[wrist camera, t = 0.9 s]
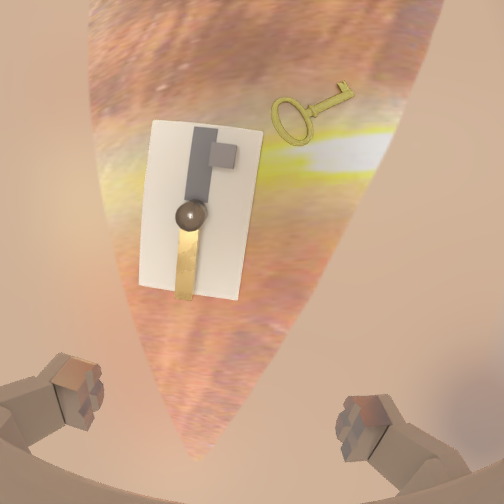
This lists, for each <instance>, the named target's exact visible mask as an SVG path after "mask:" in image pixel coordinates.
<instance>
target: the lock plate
mask: <svg viewBox="0 0 504 504" xmlns="http://www.w3.org/2000/svg"><path fill="white" fill-rule="evenodd" d="M263 133H264V131H257V130H251V129H244V128H236V127H229V126H220V125H212V124H202V123H191V122H180V121H165V120H153V124H152V130H151V137H150V144H149V152H148V159H147V168H146V177H145V186H144V197H143V209H142V222H141V239H140V263H139V285H141V286H147V287H153V288H159V289H165V290H171V291H175V281H176V267H177V254H178V242H179V231H180V227H179V226H178V225H177V223H176V220H175V214H176V211H177V209H178V208H179V207H180V206H181V205H183V204H184V203H185V202H187V201H189V200H192V199H197V200H200V201H202V202H203V203H204V204H205V205H206V207H207V211H208V215H207V218H206V220H205V221H204V223H203V224H202V226H201V235H200V244H199V253H198V263H197V273H196V284H195V293H194V294H196V295H203V296H210V297H217V298H224V299H231V300H238V294H239V288H240V281H241V274H242V268H243V261H244V255H245V248H246V241H247V235H248V228H249V222H250V215H251V209H252V203H253V196H254V190H255V183H256V177H257V171H258V164H259V158H260V151H261V145H262V139H263Z"/></svg>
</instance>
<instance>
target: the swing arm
mask: <svg viewBox="0 0 504 504" xmlns="http://www.w3.org/2000/svg"><path fill="white" fill-rule="evenodd" d="M207 215H208V211H207V207H206V205H205V204H204V203H203V202H202V201H200V200H197V199H192V200H189V201H187V202H185V203H184V204H183V205H181V206H180V207H179V208H178V209H177V211H176V214H175V220H176V223H177V225H178V226H179V227H180V231H179V242H178V254H177V267H176V281H175V298H176V299H182V300H188V301H192V298H193V296H194V293H195V284H196V273H197V263H198V253H199V244H200V235H201V226H202V224H203V223H204V221H205V220H206V218H207Z"/></svg>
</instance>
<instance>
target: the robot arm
mask: <svg viewBox="0 0 504 504" xmlns="http://www.w3.org/2000/svg"><path fill="white" fill-rule="evenodd" d="M101 374H102V373H101V367H100V366H99V365H98V364H96V363H93V362H90V361H86V360H83V359H80V358H77V357H74V356H70V355H67V354H64V353H58V354H57V355H56V356H55V357H54V358H53V359H52V360H51V362H50V363H49V364H48V365H47V366H46V367H45V368H44V370H42V372H41V373H40V374H39V375H38V376H37V377H34V376H32V377H29V378H26V379H23V380H19V381H16V382H13V383H10V384H7V385H3V386H0V504H184V503H178V502H173V501H168V500H163V499H158V498H153V497H148V496H144V495H140V494H136V493H132V492H128V491H125V490H122V489H118V488H114V487H111V486H108V485H105V484H102V483H99V482H96V481H93V480H90V479H87V478H84V477H82V476H79V475H77V474H74V473H71V472H69V471H66V470H64V469H62V468H59V467H57V466H55V465H52V464H50V463H48V462H46V461H44V460H42V459H39V458H37V457H35V456H33V455H32V454H31V452H30V450H29V449H28V446H30V445H32V444H34V443H36V442H38V441H39V440H41V439H43V438H45V437H46V436H48V435H49V434H51V433H53V432H55V431H57V430H58V429H60V428H62V427H63V426H65V424H67V425H70V426H73V427H76V428H79V429H82V430H85V431H88V430H89V428H90V426H91V424H92V422H93V420H94V414H93V412H95V411H97V410H99V409H100V407H101V405H102V402H103V398H104V387H103V383H102V382H101V381H100V380H99V378H100V376H101ZM343 405H344V408H345V410H344V411H342V412H341V413H340V414H339V416H338V418H337V421H336V427H335V429H336V435H337V439H338V440H340V441H341V442H342V443H343V444H342V447H341V451H342V454H343V457H344V460H345V462H356V461H368V463H369V464H371V465H372V466H373V467H374V468H375V469H376V470H377V471H378V472H379V473H381V475H383V476H384V477H385V478H386V479H387V480H388V481H389V482H390V483H392V484H393V485H394V486H395V487H396V488H397V489H398V490H399V491H400V492H399V493H398V494H397V495H396V496H395V497H393V498H389V499H384V500H378V501H373V502H368V503H362V504H504V459H502V460H500V461H498V462H496V463H493V464H491V465H489V466H487V467H484V468H482V469H480V470H477V471H475V472H473V473H472V472H471V471H470V469H469V467H468V466H467V464H466V463H465V461H464V459H463V458H462V456H461V455H460V453H459V452H458V451H457V450H455V449H454V448H452V447H450V446H449V445H447V444H445V443H443V442H441V441H440V440H438V439H436V438H434V437H433V436H431V435H429V434H428V433H426V432H424V431H422V430H421V429H419V428H417V427H416V426H414V425H412V424H410V423H406V422H405V420H404V419H403V417H402V415H401V413H400V412H399V410H398V408H397V407H396V405H395V403H394V402H393V400H392V398H391V397H390V396H389V395H388V394H382V395H369V396H348V397H347V398H346V400H345V402H344V404H343Z"/></svg>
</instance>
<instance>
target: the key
mask: <svg viewBox="0 0 504 504" xmlns="http://www.w3.org/2000/svg"><path fill="white" fill-rule="evenodd" d="M342 82H343V83H341V82H339V83H337V84H338V86H339V88H340V89H341V91H342V93H340V94H338V95H336V96H333V97H331V98H329V99H327V100H325V101H323V102H320V103H318V104H316V105H314V106H312V105H308V109H306V110H305V109H304V108H303V106H302V105H301V104H300V103H299V102H298V101H296V100H294V99H293V98H290V97H282V98H279V99H277V100H276V101H275V102H274V103H273V105H272V108H271V119H272V122H273V124H274V127H275V129H276V130H277V132H278V133H279V135H280V136H281V137H282V138H283V139H284V140H285V141H286V142H288V143H290V144H291V145H294V146H303V145H305V144H307V143H308V142H309V141H310V140H311V138H312V136H313V126H312V122H311V120H310V117H311V116H314V117H317V113H319V112H322V111H324V110H326V109H328V108H330V107H332V106H334V105H336V104H338V103H341V102H343V101H345V100H347V99H349V98H352V97H354V93H353V91H352V90H351V89H349V87H348V86H347V84H346V82H345V80H344V81H342ZM283 102H289V103H291V104H293V105H294V106H295V107H296V108H297V109H298V110H299V111H300V113H301V114H302V116H303V118H304V120H305V122H306V124H307V130H308V134H307V136H306V138H305V139H304V140H301V141H299V140H296V139H294V138H293V137H291V136H290V135H289V134H288V133H287V132H286V131H285V129H284V128H283V126H282V124H281V122H280V120H279V116H278V106H279V105H280V104H281V103H283Z"/></svg>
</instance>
